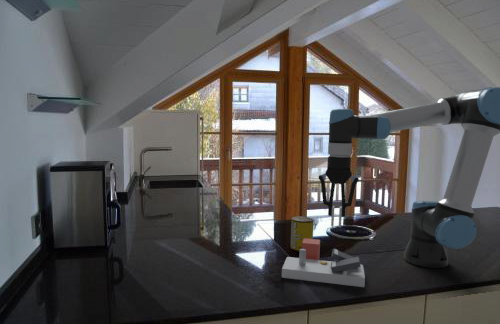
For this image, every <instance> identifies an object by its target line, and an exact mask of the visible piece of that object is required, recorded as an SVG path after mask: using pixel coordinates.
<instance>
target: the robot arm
mask: <svg viewBox="0 0 500 324" xmlns="http://www.w3.org/2000/svg"><path fill="white" fill-rule="evenodd" d="M328 124H329V125H328V144H327V145H328V147H327V155H328V156H327V164H326V165H327V167H326V170H325V173H322V174H319V175H318V180H319V181H320V184H321V185H320V187H321V195H322V204H323V205H325V206H327V207H328V210H327V211H328V212H327V216H328V217H331V219H330V220H331V223H330V227H334V222H335V221H334V220H335V205H333V202H334V196H335V187H336V185H338V184H339V185H340V190H341V192H340V193H341V206H339V208H338V209H339V211H338V213H339V214H338V228H342V218H345V217H346V208H348V207H351V206H352V203H353V199H354V194H355V190H356V189H355V188H356V185H357V183H358V182H359V177H358V176H356V175H354V174H353V173H352V171H351V169H352V166H351V164H352V158H351V157H350V156H352V147H353V146H352V145H353V139H363V140H364V139H366V140H385V139H388V137H389V136H390V134H391V133H392V132H397V131H398V132H399V131H403V130H405V131H406V130H409V129H415V128H420V127H425V126H432V125H436V124H437V125H438V124H441V125H442V126H446V125H453V124H454V125H455V124H460V125H461V127H462V129H463V130H464V131H463V135H462V137H461V140H460V141H461V142H460V144H459V148H458V151H457V153H456V157H455V160H454V164H453V166H452V170H451V172H450V176H449V179H448V182H447V186H446V189H445V192H444V195H443V197H442V198H441V199H439V200H436V201H434V200H416V201H415V200H414V202H413V203H412V205H411V206H412V208H411V217H410V237H409V241H408V243H407V245H406V248H405V250H404V252H403V253H404V255H403V259H404V260H405V262H408V263H410V264H412V265H414V266H418V267H422V268H423V267H424V268H429V269H442V268H447V267H448V265H449V256H448V254H447V253H448V252H447V249H446V247H447V248H449V249H455V250H457V249H458V250H460V249H462V248H463V249H464V248H465V247H468V245H470V244H472V242H473V241H474V239H475V238H476V236H477V231H478V230H477V225H476V223H475V222H474V220H473V219H474V217H475V211H474V209H473V208H472V205H473V201H474V200H475V197H476V196H475V195H476V192H477V189H478V186H479V182H480V180H481V177H482V174H483V171H484V168H485V164H486V161H487V158H488V156H489V152H490V149H491V145H492V143H493V140H494V137H495V136H497V135H498V134H500V87H492V86H491V87H485V88H482V89H474V90H468V91H464V92H461V93H458V94H455V95H451V96H450V97H443V98H440V99H439V100H437V102H432V103H426V104H421V105H417V106H416V105H415V106H411V107H406V108H401V109H394V110H389V111H384V112H379V113H372V114H367V115H355V114H354V110H353V109H350V108H333V109H331V110H330V113H329V122H328ZM326 177H327V178H328V180H329V181H330V183H331V186H330V192H329V193H330V194H329V198H327V188H326V179H327V178H326ZM348 180H350V181H351V185H350V189H349V194H348V199H347V201H346V183H347V182H348Z"/></svg>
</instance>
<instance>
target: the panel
mask: <svg viewBox="0 0 500 324" xmlns="http://www.w3.org/2000/svg"><path fill="white" fill-rule="evenodd" d="M298 252H299V255H298V257H291V256H287V257H286V259H285V261H284V262H283V263H284V264H283V265H282V268H281V278H284V279H292V280H298V281H299V280H301V281H308V282H317V283H326V284H335V285H342V286H351V287H359V288H365V286H366V285H365V283H366V282H365V281H366V275H365V269H364V265H363V264H361V263H360V266H361V267H358V268H351V269H346V270H341V271H336V272H332V270H331V262H332V261H331V260H330V261H329V260H321V259H319V260H313V259H306V250H305V249H300V251H298Z"/></svg>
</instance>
